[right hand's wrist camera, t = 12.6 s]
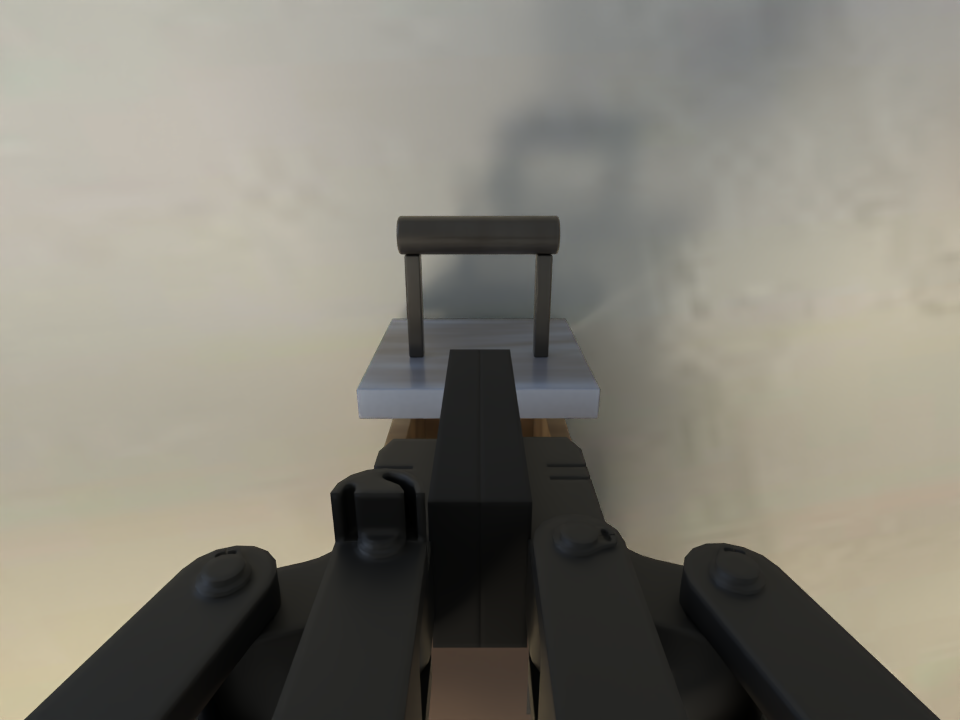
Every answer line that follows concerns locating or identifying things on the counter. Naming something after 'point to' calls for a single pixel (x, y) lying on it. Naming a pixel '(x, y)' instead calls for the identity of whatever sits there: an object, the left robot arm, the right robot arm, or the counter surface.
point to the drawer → (477, 335)
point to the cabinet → (479, 684)
